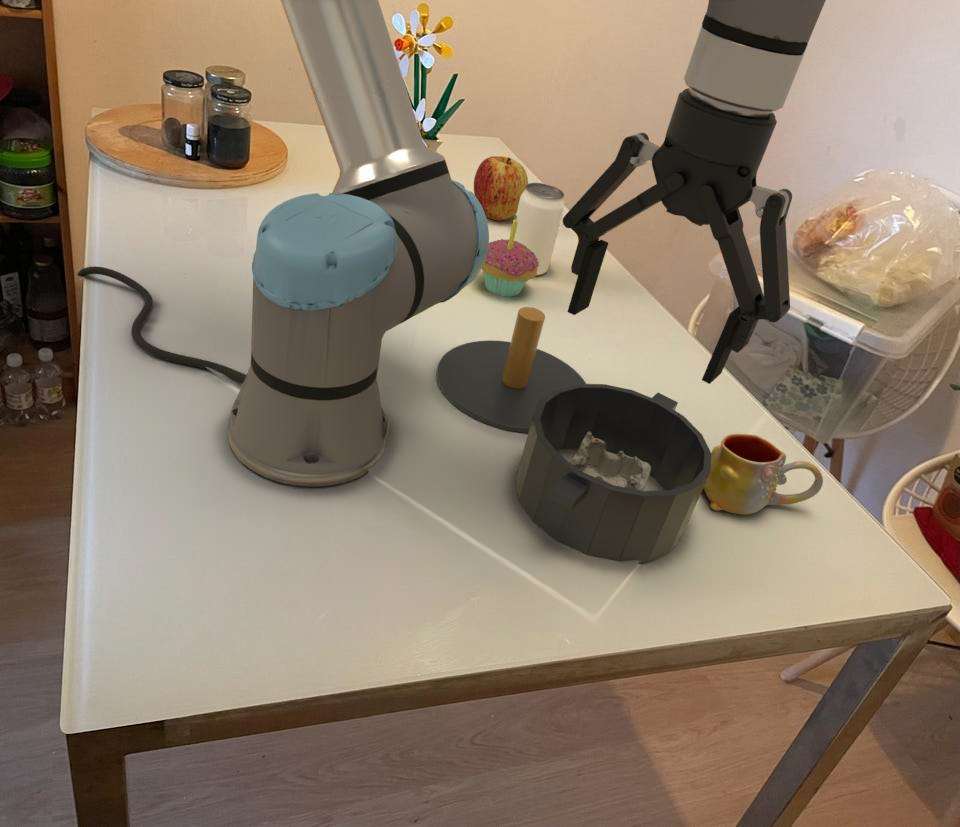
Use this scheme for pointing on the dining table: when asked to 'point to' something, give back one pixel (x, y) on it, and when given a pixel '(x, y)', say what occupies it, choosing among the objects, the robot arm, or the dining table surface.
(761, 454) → the mug
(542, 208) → the can
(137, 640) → the dining table surface
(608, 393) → the pot
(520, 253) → the cupcake
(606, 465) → the egg carton
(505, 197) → the apple
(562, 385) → the lid
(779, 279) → the robot arm
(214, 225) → the dining table surface
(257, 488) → the dining table surface
